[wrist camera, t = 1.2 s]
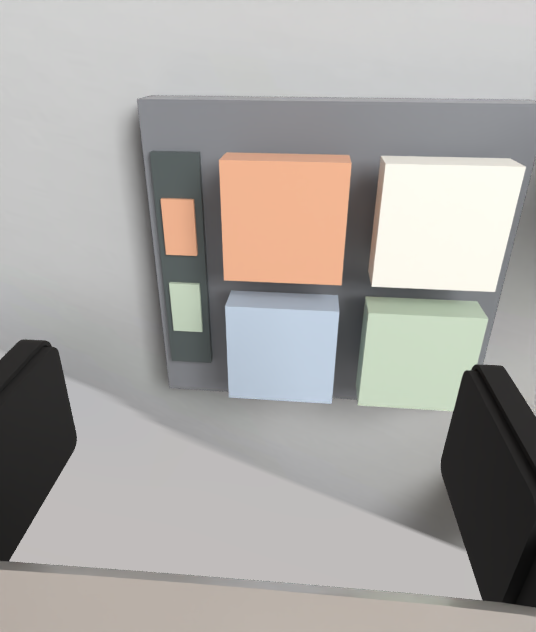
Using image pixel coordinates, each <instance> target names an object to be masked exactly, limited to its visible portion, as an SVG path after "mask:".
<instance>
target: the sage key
mask: <svg viewBox="0 0 536 632" xmlns="http://www.w3.org/2000/svg"><path fill="white" fill-rule="evenodd" d="M487 323H488V317H487V316H486V314H485V313H484V311H483V309H482V308H481V306H480V305H479V303H478V302H477V301H460V300H437V299H414V298H392V297H369V296H365V305H364V314H363V323H362V332H361V341H360V350H359V359H358V369H357V378H356V392H357V401H358V405H359V406H375V407H391V408H407V409H423V410H439V411H454V407H455V403H456V399H457V395H458V391H459V387H460V383H461V379H462V376H463V373H464V371H466V370H471V369H472V367H473V366H474V365H476V364H477V363H478V359H479V355H480V351H481V347H482V343H483V339H484V335H485V331H486V327H487Z"/></svg>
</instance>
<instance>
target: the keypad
mask: <svg viewBox="0 0 536 632" xmlns="http://www.w3.org/2000/svg"><path fill="white" fill-rule="evenodd" d="M137 104H138V113H139V122H140V131H141V140H142V149H143V157H144V166H145V175H146V184H147V193H148V202H149V211H150V220H151V228H152V237H153V246H154V255H155V264H156V273H157V282H158V291H159V300H160V308H161V317H162V326H163V335H164V344H165V353H166V362H167V371H168V379H169V388H178V389H195V390H211V391H227V392H229V387H228V364H227V340H226V316H225V305H226V303H227V300H228V297H229V295H230V292H231V290H233V291H256V292H279V293H301V294H324V295H338V301H339V322H338V334H337V346H336V358H335V370H334V382H333V394H332V398H341V399H357V392H356V378H357V369H358V359H359V350H360V341H361V332H362V323H363V314H364V305H365V296H369V297H392V298H414V299H437V300H460V301H477V302H478V303H479V305H480V306H481V308H482V309H483V311H484V313H485V314H486V316H487V317H488V323H487V327H486V331H485V335H484V339H483V343H482V347H481V351H480V355H479V359H478V363H477V364H479V365H483V362H484V358H485V354H486V350H487V346H488V342H489V338H490V334H491V331H492V327H493V323H494V319H495V315H496V311H497V307H498V303H499V299H500V295H501V291H502V287H503V283H504V279H505V275H506V272H507V268H508V264H509V260H510V256H511V252H512V248H513V244H514V240H515V236H516V232H517V228H518V224H519V220H520V217H521V213H522V209H523V205H524V201H525V197H526V193H527V189H528V185H529V181H530V177H531V173H532V169H533V165H534V161H535V158H536V101H532V100H503V99H416V98H329V97H243V96H156V95H152V96H147V97H143V98H139V99H137ZM226 152H232V153H280V154H328V155H349V156H350V159H351V163H352V164H351V176H350V189H349V201H348V213H347V225H346V237H345V249H344V261H343V273H342V285H320V284H296V283H273V282H249V281H226V280H224V268H223V245H222V221H221V197H220V173H219V159H220V158H221V157H222V156H223V155H224V154H225V153H226ZM381 156H423V157H471V158H511V159H512V160H514V161H516V162H518V163H520V164H522V165H524V166H525V167H526V169H525V173H524V177H523V181H522V185H521V189H520V193H519V197H518V201H517V205H516V209H515V214H514V218H513V222H512V226H511V230H510V234H509V238H508V242H507V246H506V250H505V254H504V258H503V262H502V266H501V270H500V274H499V278H498V282H497V286H496V290H495V292H484V291H461V290H437V289H414V288H390V287H372V286H371V282H370V277H369V273H368V268H369V259H370V250H371V241H372V231H373V222H374V213H375V204H376V195H377V186H378V177H379V167H380V158H381Z"/></svg>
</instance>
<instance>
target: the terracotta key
mask: <svg viewBox="0 0 536 632" xmlns="http://www.w3.org/2000/svg"><path fill="white" fill-rule="evenodd" d="M351 164H352V163H351V159H350V156H349V155H328V154H280V153H232V152H226V153H225V154H224V155H223V156H222V157H221V158H220V159H219V173H220V197H221V221H222V245H223V268H224V280H226V281H249V282H273V283H296V284H320V285H342V273H343V261H344V249H345V237H346V225H347V213H348V201H349V189H350V176H351Z"/></svg>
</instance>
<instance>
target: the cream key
mask: <svg viewBox="0 0 536 632" xmlns="http://www.w3.org/2000/svg"><path fill="white" fill-rule="evenodd" d="M525 169H526V167H525V166H524V165H522V164H520V163H518V162H516V161H514V160H512V159H511V158H471V157H423V156H381V158H380V167H379V177H378V186H377V195H376V204H375V213H374V222H373V231H372V241H371V250H370V259H369V268H368V273H369V277H370V282H371V286H372V287H390V288H414V289H437V290H461V291H484V292H495V290H496V286H497V282H498V278H499V274H500V270H501V266H502V262H503V258H504V254H505V250H506V246H507V242H508V238H509V234H510V230H511V226H512V222H513V218H514V214H515V209H516V205H517V201H518V197H519V193H520V189H521V185H522V181H523V177H524V173H525Z"/></svg>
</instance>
